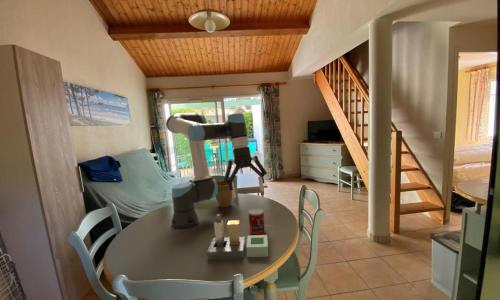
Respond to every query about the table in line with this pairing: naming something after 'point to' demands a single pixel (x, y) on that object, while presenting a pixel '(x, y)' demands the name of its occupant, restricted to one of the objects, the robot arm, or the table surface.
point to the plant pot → (223, 194)
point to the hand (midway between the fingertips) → (248, 194)
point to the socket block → (226, 250)
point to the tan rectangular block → (234, 232)
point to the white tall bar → (219, 231)
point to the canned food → (256, 221)
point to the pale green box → (257, 246)
